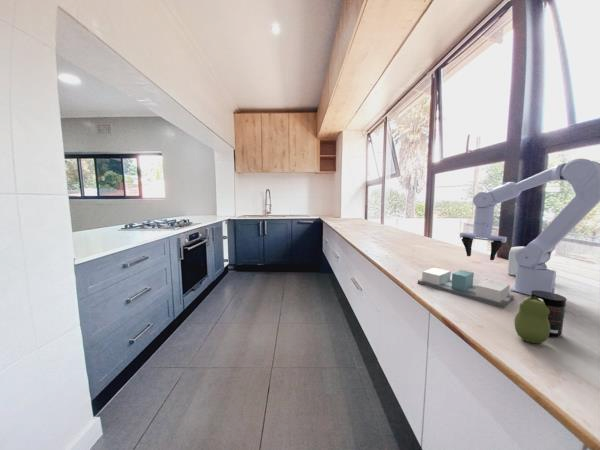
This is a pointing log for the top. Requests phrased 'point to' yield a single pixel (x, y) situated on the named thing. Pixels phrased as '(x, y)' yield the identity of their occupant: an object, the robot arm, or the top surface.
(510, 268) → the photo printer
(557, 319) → the supplement container
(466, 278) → the module block
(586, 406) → the top surface
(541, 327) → the pear
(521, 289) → the robot arm
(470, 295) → the rail plate
